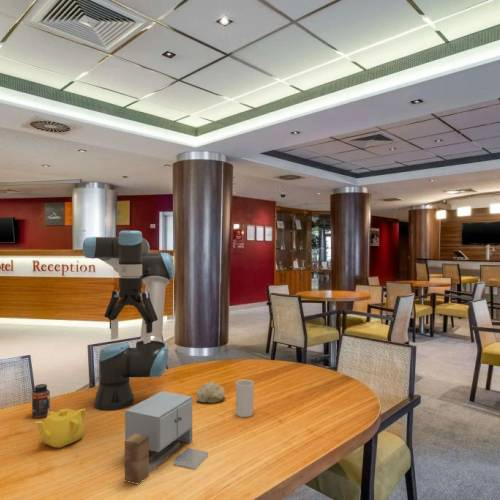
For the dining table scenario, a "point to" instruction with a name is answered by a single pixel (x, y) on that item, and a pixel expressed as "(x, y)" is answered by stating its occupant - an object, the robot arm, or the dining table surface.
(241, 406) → the mug
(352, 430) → the dining table surface
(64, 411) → the teapot
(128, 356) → the robot arm
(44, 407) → the supplement bottle
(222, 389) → the decorative item
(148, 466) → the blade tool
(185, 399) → the low cabinet
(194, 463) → the plate
